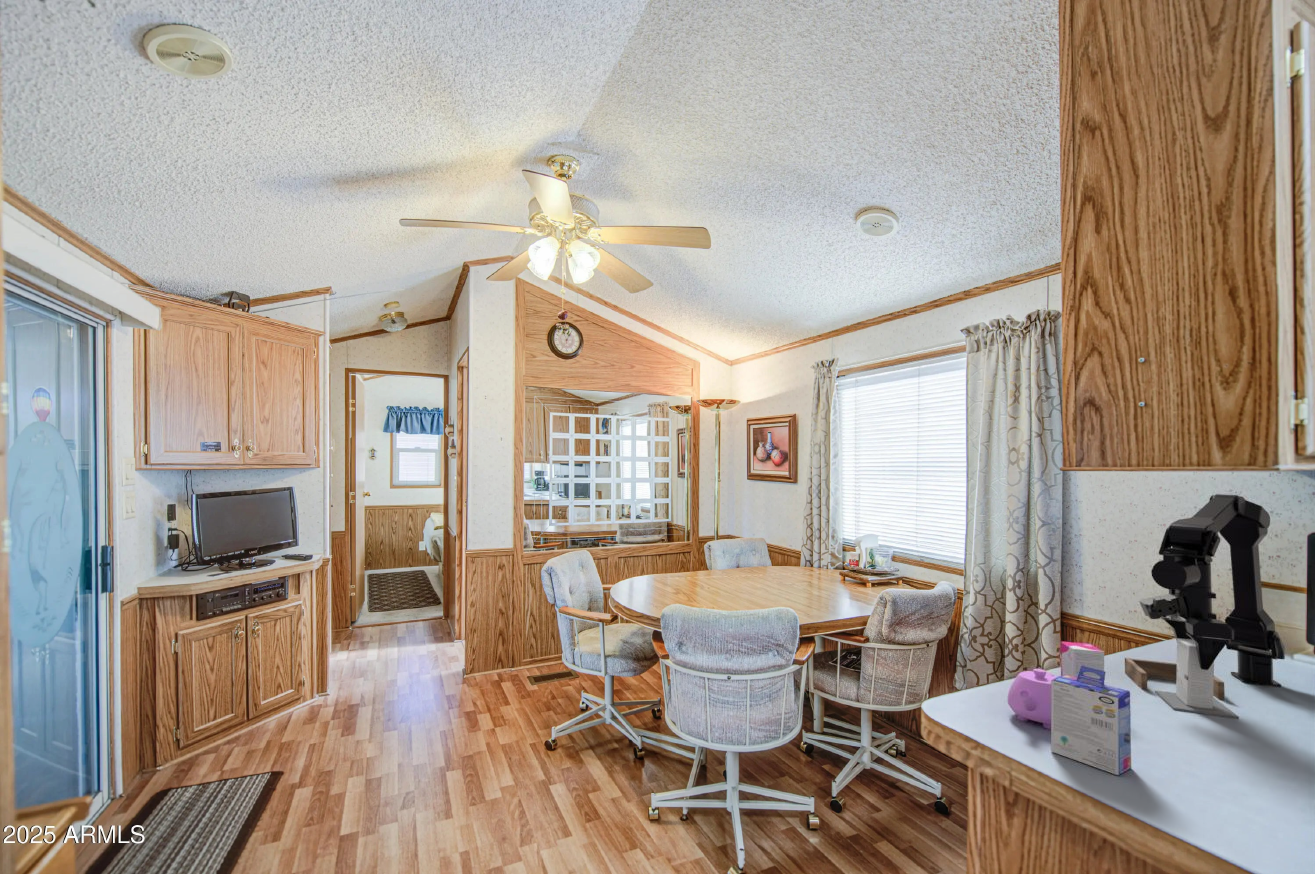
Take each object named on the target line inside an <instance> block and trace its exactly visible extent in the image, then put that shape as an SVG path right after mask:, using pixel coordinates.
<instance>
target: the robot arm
mask: <svg viewBox="0 0 1315 874" xmlns="http://www.w3.org/2000/svg"><path fill="white" fill-rule="evenodd" d="M1270 525H1271V516H1270V513H1269V512H1268V511H1267V510H1266V509H1265V508H1264V507H1263V506H1262V505H1260V504H1257V503H1254V502H1252V501H1248V500H1247V499H1245V497H1243V496H1240V495H1238V494H1222V493H1221V494H1219V493H1216V494H1214V495H1213V494H1212V495H1210V497H1209V500H1208V501H1207V503H1206V504H1205V505H1204V506H1203V507H1202V508H1200V509H1199V510H1198V511H1197V512H1196V513H1195V514H1194V515H1192V516H1191V517H1188V518H1187V517H1186V518H1182V519H1181V518H1180V519H1177V520H1175V521H1173V522H1171V523H1170V525H1168V527H1166V530H1165V532H1164V535H1163V538H1162V541H1161V544H1160V546H1159V547H1160V548H1159V549H1158V550H1159V551H1158V555H1159V556H1162V560H1159V561H1157V562H1156V563H1155V564H1154V565H1153V566H1152V569H1151V572H1150V573H1151V577H1152V579H1153V581H1154V583H1156V584H1157V585H1159V587H1161V588H1163V589H1167V590H1168V593H1167V594H1161V595H1156V596H1151V597H1146V598H1142V599H1139V601H1138V602H1139V604H1140V606H1141V609H1142V611H1143V613H1144V615H1145V616H1146V617H1149V619H1150V620H1159V619H1161V620H1162V621H1163V622H1165V623H1166V624H1167V625H1168V626H1169V627H1170V628H1171V629H1172V632H1173V635H1174V638H1175V640H1176V642H1177V639H1178V638H1179V639H1192V640H1194V641H1195V645H1196V650H1197V655H1198V660H1199V664H1200V668H1201V669H1203V670H1208V669H1209V668H1210V666H1211V665H1212V663H1213V662H1214V663H1215V661H1216V659H1217V657H1219V654H1220V653H1221V652H1222V650H1223V649H1224V647H1226V650H1231V651H1236V653H1237V655H1236V656H1237V671H1230V674H1231V675H1232V676H1234V677H1235V678H1237V680H1239V681H1241V682H1243V683H1246V684H1254V685H1261V686H1262V685H1263V686H1270V687H1278V688H1279V687H1282V684H1281V683H1279V682H1278V681H1276V680H1275V679H1274V661H1273V660H1285V659H1286V656H1285V655H1286V649H1285V644H1284V643H1283V641H1282V639H1281V637H1280V635H1279V633H1278V632H1277V631H1276V624H1275V621H1274V620H1273V618H1272V617H1271V616H1270V615H1269V614H1268V613H1267V611H1266V610H1265V609H1264V606H1263V605H1264V604H1263V590H1262V589H1263V588H1262V575H1261V564H1260V561H1261V560H1260V551H1259V548H1260V547H1259V546H1260V544H1261V542H1262V541H1263V540H1264V539H1265V537H1266V536H1267V535H1268V533H1269V532H1268V531H1269V527H1270ZM1219 534H1220V536H1221V537H1222V538H1223V539H1224V540H1225V541H1226V542H1227V544H1228V545H1229V549H1230V551H1229V552H1230V553H1229V554H1230V564H1231V566H1230V567H1231V578H1232V590H1233V594H1232V595H1233V604H1234V609H1232V611H1231V612H1230V613H1229V614H1228V616H1226V617H1225V619H1224V621H1222V620H1221V619H1217V614H1216V613H1214V612H1213V602H1212V599H1213V600H1214V599H1215V600H1216V599H1217V593H1216V592H1213V591H1212V564H1211V563H1213V558H1212V557H1215V555H1216V552H1217V550H1218V547H1219V546H1220V543H1221V537H1220V536H1219Z"/></svg>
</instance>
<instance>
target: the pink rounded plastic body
mask: <svg viewBox="0 0 1315 874" xmlns="http://www.w3.org/2000/svg"><path fill="white" fill-rule="evenodd" d="M1057 677H1058V676H1055V675H1054V674H1052V673H1050V672H1047V671H1046V670H1045V669H1042V668H1034V669H1032V670H1024V671H1021V672H1019V673H1018V674H1017V675H1016V677H1015V678H1014V680H1013V682H1012V683H1011V685H1010V688H1009V690H1008V694H1007V704H1008V706H1009V707H1010V709H1011V710H1012V712H1013V713H1015V714H1016V715H1017V717H1016V719H1017V720H1018V721H1022V722H1027V721H1029V720H1030V721H1034V722H1038V723H1042V726H1043V728H1045V729H1047V730H1051V680H1053V679H1055V678H1057Z"/></svg>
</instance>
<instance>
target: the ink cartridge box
mask: <svg viewBox="0 0 1315 874" xmlns="http://www.w3.org/2000/svg"><path fill="white" fill-rule="evenodd" d="M1083 672H1093V673H1095V674H1097V675H1099V676H1100V679H1095V678H1092V677H1088V676H1084V675H1083ZM1056 677H1057V678H1055V679H1053V680H1051V729H1050V731H1051V733H1050V736H1051V737H1050V739H1051V740H1050V744H1051V745H1050V752H1051V753H1054V754H1057V755H1060V756H1063V757H1066V758H1069V759H1071V760H1074V761H1076V762H1079V763H1083V764H1086V765H1088V766H1091V767H1093V768H1096V769H1099V770H1102V771H1103V772H1108V773H1109V774H1112V775H1115V776H1120V775H1122V774H1124V773H1125V772H1127V771H1129V770H1130V769H1132V740H1131V739H1132V737H1131V736H1132V733H1131V732H1132V731H1131V730H1132V729H1131V728H1132V727H1131V723H1132V722H1131V690H1129V689H1128V690H1127V689H1124V688H1120V687H1115V686H1112V685H1107V684H1105V679H1106V671H1105V670H1104V671H1101V670H1097V669H1093V668H1089V667H1085V666H1081V668H1080V671H1079V674H1078V677H1077V678H1075V677H1071V676H1067V675H1062V676H1061V675H1059V676H1056Z"/></svg>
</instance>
